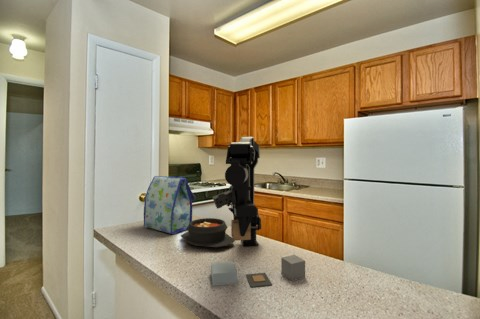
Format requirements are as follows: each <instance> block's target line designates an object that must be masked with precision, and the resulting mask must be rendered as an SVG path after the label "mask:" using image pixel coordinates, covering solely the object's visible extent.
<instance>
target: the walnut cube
mask: <svg viewBox="0 0 480 319" xmlns="http://www.w3.org/2000/svg"><path fill="white" fill-rule="evenodd" d="M230 223H231V224H230V225H231V227H230V228H231V230H230V231H231V234H230V235H231V236H230V237H232V238H233V239H234V242H235V241H241V240H251V223H250V225H249V227H248V229H247V231H246V233H245V236H241V235H240V230H239V224H238V220H235V219H231V222H230Z"/></svg>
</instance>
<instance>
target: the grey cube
mask: <svg viewBox="0 0 480 319" xmlns="http://www.w3.org/2000/svg"><path fill="white" fill-rule="evenodd" d="M280 259H281V260H280V262H281V266H280V267H281V275H283V276H284V277H285V278H287V279H288V280H290V282H293V281H297V280H301V279H304V278H306V260H305V259H303V258H301V257H299V256H298V255H296V254H292V255H291V254H290V255H287V256H282V257H281V258H280Z"/></svg>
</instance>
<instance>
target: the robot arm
mask: <svg viewBox="0 0 480 319" xmlns="http://www.w3.org/2000/svg"><path fill="white" fill-rule="evenodd" d="M260 155H261V153H260V145H259V143H257V142H256V141H255V138H254V137H253V136H242V137H240V140H239V141H238V142H237V141H236V142H230V144H229V145H228V146H227V151H226V158H225V165H229V166H228V167H227V168H226V169H225V172H224V178H225V181H226V182H227V184H229V187H228V188H229V189H228V191H224V192H221V193H217V195H213V196H212V199H213V202H214V205H215V207H216V209H221V208H223V207H224V206H226V207H228V210H229V212H231V214H232V215H233V218H234V219H233V220H238V224H239V230H240V235H241V236H245V233H246V231H247V229H248V227H249V225H250V223H251V240H240V243H241V244H242V246H243V247H252V246H259V245H260V243H259V242H258V240H257V231H260V230H262V219H261V217H260V214H259V208H258V207H257V206H256V205H255V169H256V167H257V166H258V164H259V159H260V157H261V156H260Z"/></svg>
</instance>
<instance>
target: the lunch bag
mask: <svg viewBox="0 0 480 319" xmlns="http://www.w3.org/2000/svg"><path fill="white" fill-rule="evenodd" d="M195 199H196V197H195V195H194V193H193V192H192V190H191V187H190V185H189V181H188V179H187V178H186V177H182V176H162V175H154V176H153V178H152V180H151V181H150V183H149V185H148V188H147V191H146V193H145V199H144V206H143V227H145V228H148V229H152V230H156V231H160V232H163V233H167V234H171V235H174V234H177V233H180V232H181V231H188V230H187V227H188V226H189V223H190V222H191V221H193V201H194V200H195Z"/></svg>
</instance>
